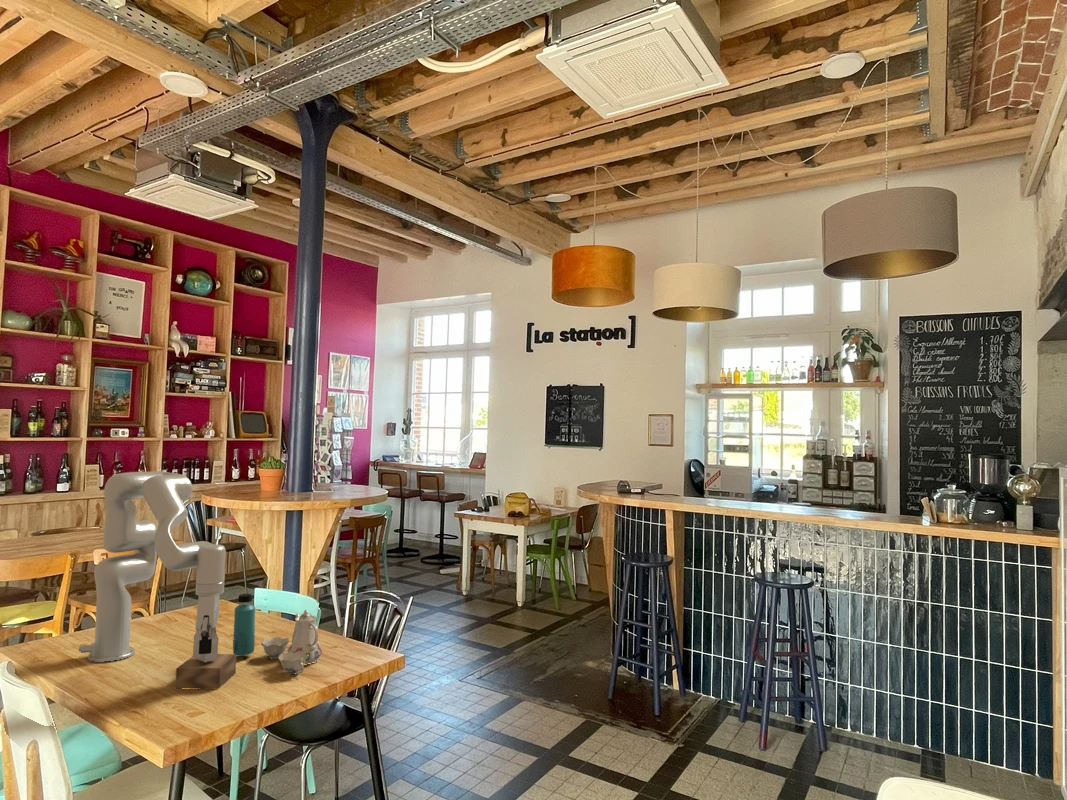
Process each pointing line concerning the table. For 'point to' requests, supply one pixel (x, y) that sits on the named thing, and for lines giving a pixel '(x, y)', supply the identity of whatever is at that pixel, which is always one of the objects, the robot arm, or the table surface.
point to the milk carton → (214, 650)
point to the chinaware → (296, 645)
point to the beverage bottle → (244, 626)
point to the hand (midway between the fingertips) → (207, 648)
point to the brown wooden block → (206, 672)
